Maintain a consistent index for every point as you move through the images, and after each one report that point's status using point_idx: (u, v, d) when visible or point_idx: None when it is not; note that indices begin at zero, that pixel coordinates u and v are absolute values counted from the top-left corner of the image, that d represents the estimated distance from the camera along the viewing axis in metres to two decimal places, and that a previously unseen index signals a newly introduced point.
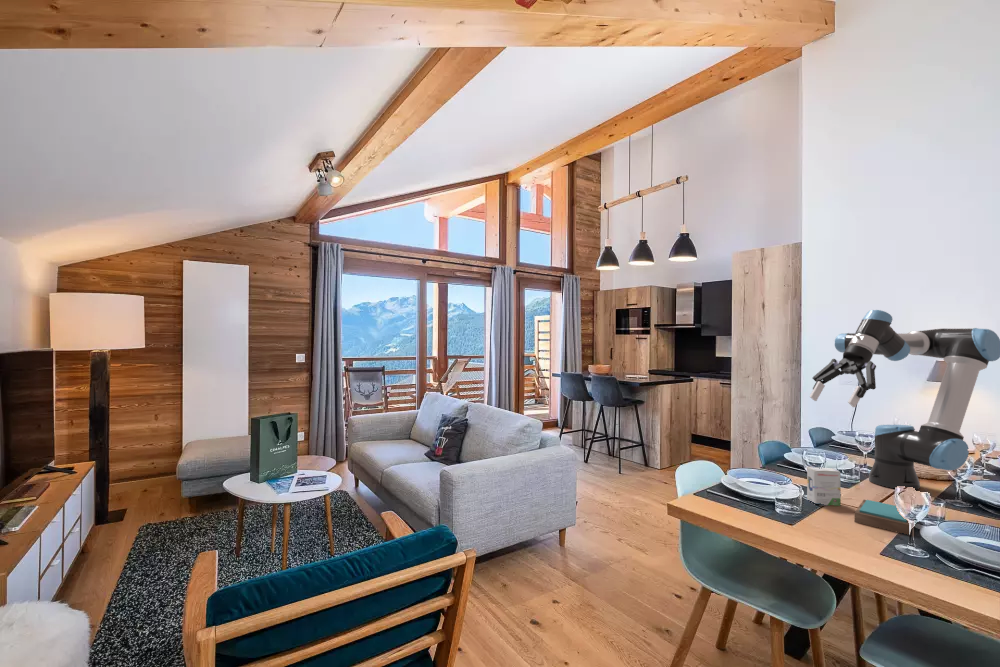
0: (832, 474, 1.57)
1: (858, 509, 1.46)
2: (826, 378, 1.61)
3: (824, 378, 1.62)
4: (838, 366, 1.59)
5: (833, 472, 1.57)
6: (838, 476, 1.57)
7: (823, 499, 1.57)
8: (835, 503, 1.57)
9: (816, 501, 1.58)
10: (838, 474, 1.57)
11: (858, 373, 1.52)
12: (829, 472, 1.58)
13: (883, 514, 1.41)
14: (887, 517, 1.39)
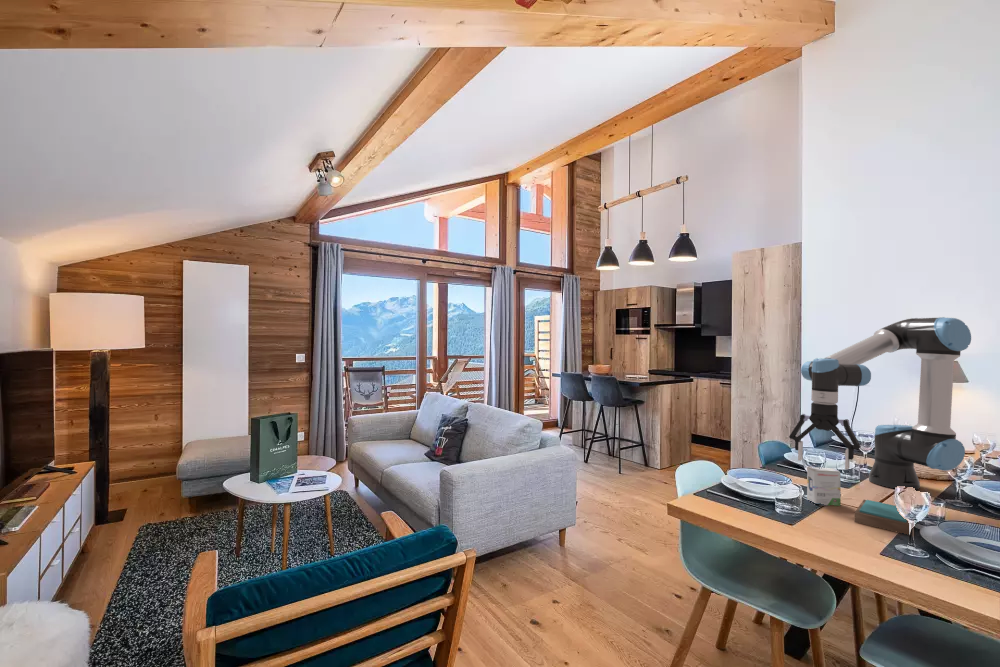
0: (832, 474, 1.57)
1: (858, 509, 1.46)
2: (803, 436, 1.64)
3: (802, 437, 1.64)
4: (813, 426, 1.60)
5: (833, 472, 1.57)
6: (838, 476, 1.57)
7: (823, 499, 1.57)
8: (835, 503, 1.57)
9: (816, 501, 1.58)
10: (838, 474, 1.57)
11: (839, 434, 1.55)
12: (829, 472, 1.58)
13: (883, 514, 1.41)
14: (887, 517, 1.39)
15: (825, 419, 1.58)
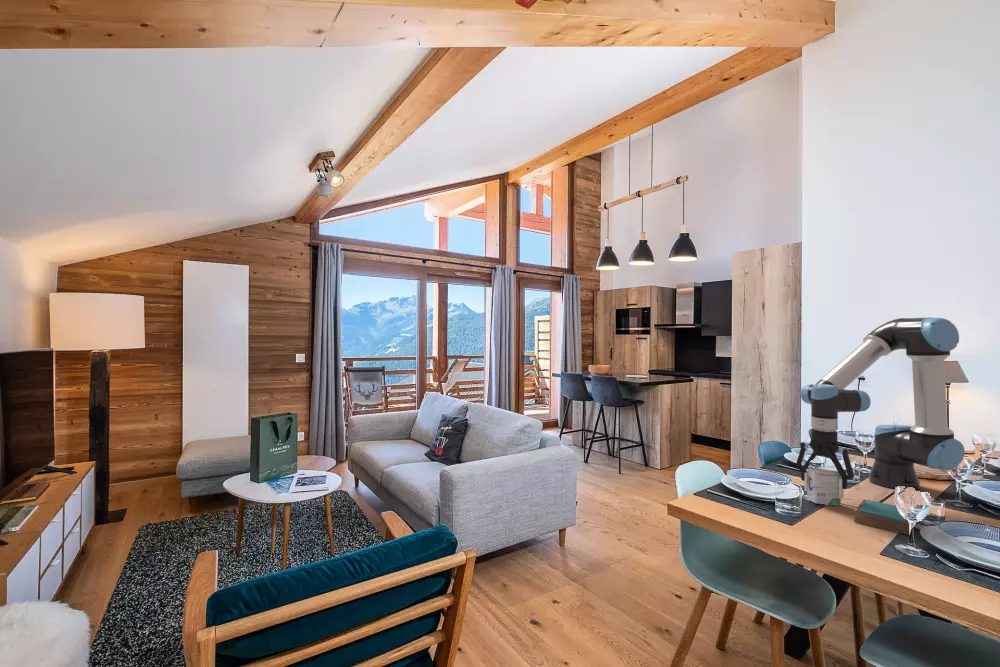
0: (832, 474, 1.57)
1: (858, 509, 1.46)
2: (808, 465, 1.63)
3: (807, 467, 1.63)
4: (814, 453, 1.60)
5: (833, 472, 1.57)
6: (838, 476, 1.57)
7: (823, 499, 1.57)
8: (835, 503, 1.57)
9: (816, 501, 1.58)
10: (838, 474, 1.57)
11: (836, 462, 1.56)
12: (829, 472, 1.58)
13: (883, 514, 1.41)
14: (887, 517, 1.39)
15: (825, 444, 1.58)
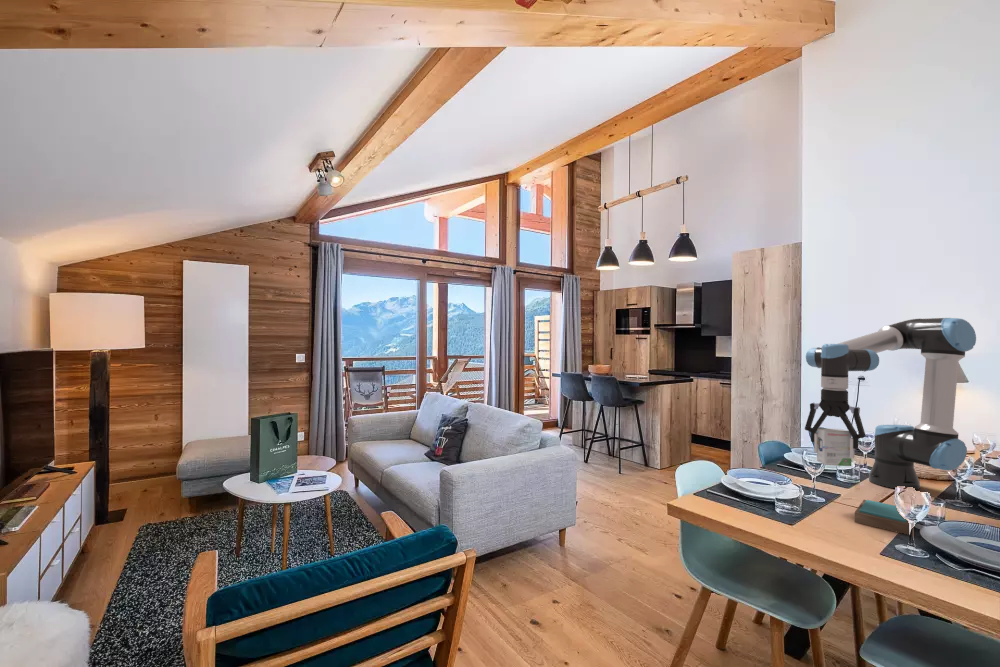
0: (843, 434, 1.55)
1: (858, 509, 1.46)
2: (818, 426, 1.60)
3: (817, 427, 1.60)
4: (825, 413, 1.58)
5: (844, 432, 1.55)
6: (849, 436, 1.54)
7: (833, 459, 1.55)
8: (846, 463, 1.54)
9: (826, 461, 1.55)
10: (849, 434, 1.54)
11: (847, 422, 1.53)
12: (839, 432, 1.55)
13: (883, 514, 1.41)
14: (887, 517, 1.39)
15: (836, 404, 1.56)
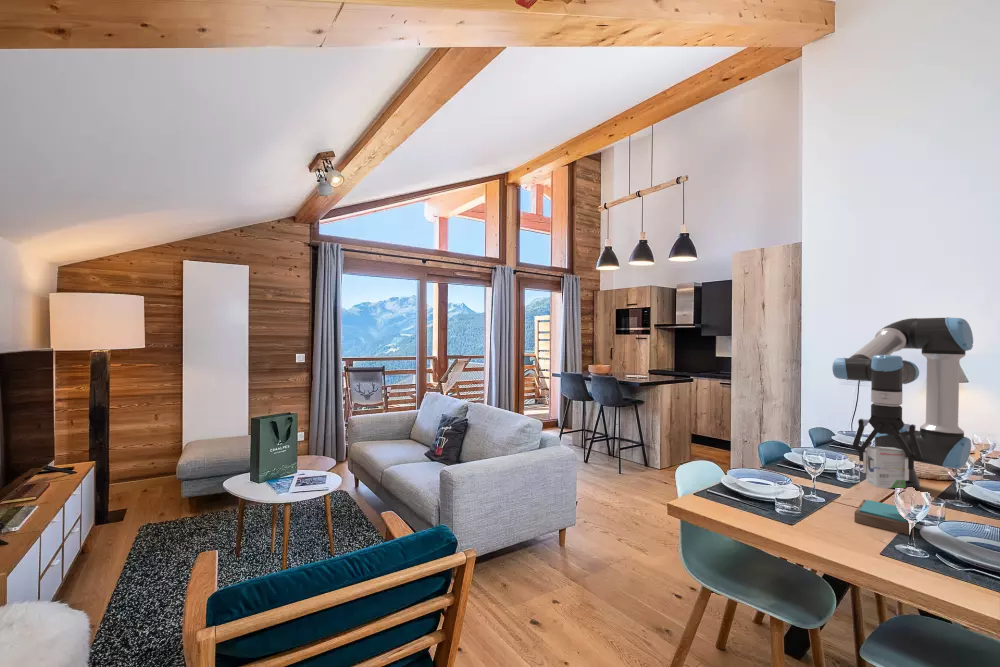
0: (896, 453, 1.42)
1: (858, 509, 1.46)
2: (868, 444, 1.48)
3: None
4: (875, 430, 1.45)
5: (897, 451, 1.42)
6: (903, 455, 1.42)
7: (886, 481, 1.42)
8: (899, 485, 1.42)
9: (878, 483, 1.42)
10: (903, 453, 1.42)
11: (901, 440, 1.41)
12: (893, 451, 1.42)
13: (883, 514, 1.41)
14: (887, 517, 1.39)
15: (888, 421, 1.43)
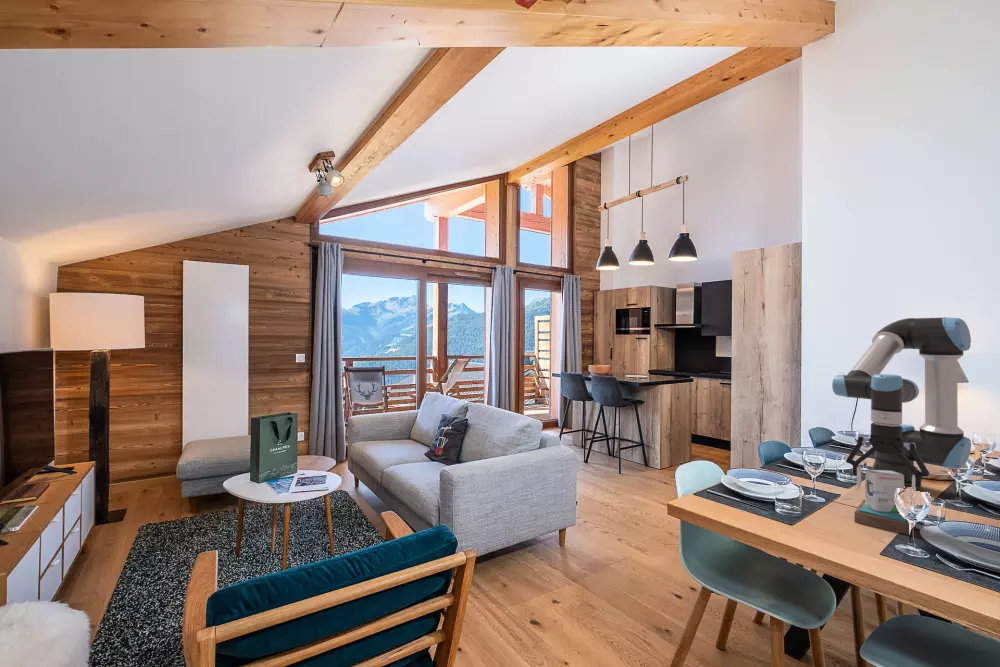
0: (895, 477, 1.43)
1: (858, 509, 1.46)
2: (862, 460, 1.49)
3: (861, 461, 1.48)
4: (874, 449, 1.45)
5: (896, 475, 1.43)
6: (902, 479, 1.42)
7: (885, 505, 1.43)
8: None
9: (878, 507, 1.43)
10: (901, 477, 1.42)
11: (904, 459, 1.41)
12: (892, 475, 1.43)
13: (883, 514, 1.41)
14: (887, 517, 1.39)
15: (888, 442, 1.43)
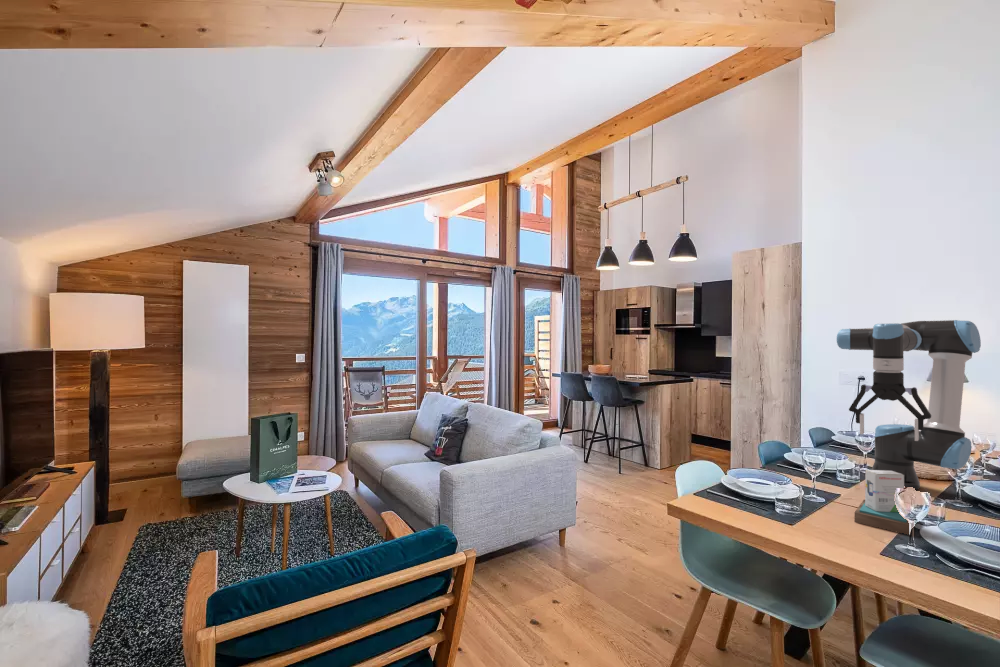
0: (895, 477, 1.43)
1: (858, 509, 1.46)
2: None
3: None
4: (876, 396, 1.50)
5: (896, 475, 1.43)
6: (902, 479, 1.42)
7: (885, 505, 1.43)
8: None
9: (878, 507, 1.43)
10: (902, 477, 1.42)
11: (906, 404, 1.45)
12: (892, 475, 1.43)
13: (883, 514, 1.41)
14: (887, 517, 1.39)
15: (890, 388, 1.48)
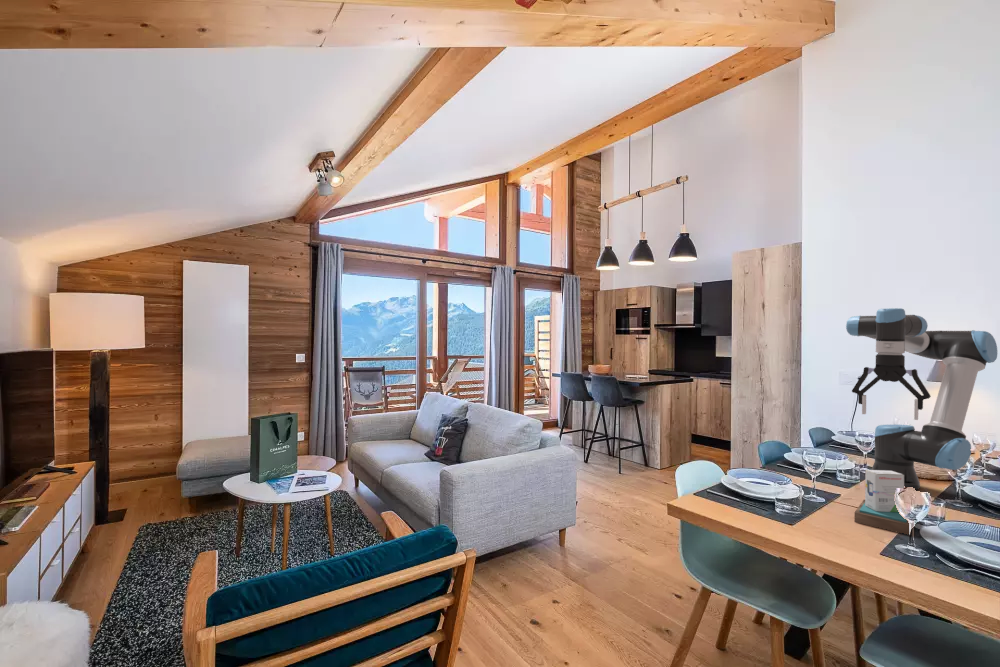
0: (895, 477, 1.43)
1: (858, 509, 1.46)
2: (867, 389, 1.60)
3: (866, 390, 1.60)
4: (878, 377, 1.57)
5: (896, 475, 1.43)
6: (902, 479, 1.42)
7: (885, 505, 1.43)
8: None
9: (878, 507, 1.43)
10: (902, 477, 1.42)
11: (907, 384, 1.52)
12: (892, 475, 1.43)
13: (883, 514, 1.41)
14: (887, 517, 1.39)
15: (891, 370, 1.55)
